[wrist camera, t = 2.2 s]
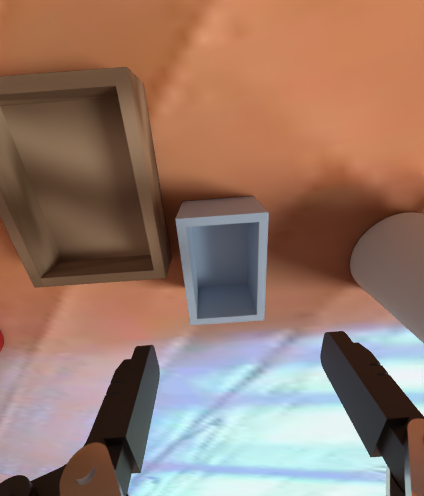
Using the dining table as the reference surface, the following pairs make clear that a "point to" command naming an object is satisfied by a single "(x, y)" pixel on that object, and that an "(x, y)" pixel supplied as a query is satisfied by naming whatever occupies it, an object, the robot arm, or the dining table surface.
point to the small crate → (224, 258)
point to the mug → (394, 267)
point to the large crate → (81, 178)
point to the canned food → (1, 341)
